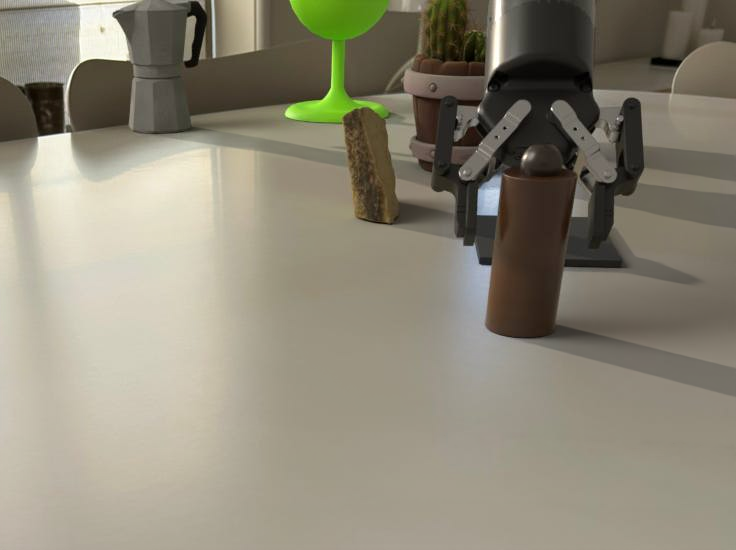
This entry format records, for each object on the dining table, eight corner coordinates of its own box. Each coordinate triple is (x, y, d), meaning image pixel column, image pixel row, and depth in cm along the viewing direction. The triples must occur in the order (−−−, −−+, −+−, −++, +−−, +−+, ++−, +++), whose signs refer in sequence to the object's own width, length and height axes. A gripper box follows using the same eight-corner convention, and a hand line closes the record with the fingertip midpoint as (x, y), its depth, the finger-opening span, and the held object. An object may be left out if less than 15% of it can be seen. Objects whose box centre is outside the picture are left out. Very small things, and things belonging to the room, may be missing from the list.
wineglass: (358, 125, 154) (364, -20, 144) (265, 117, 161) (264, -22, 151) (406, 111, 165) (414, -25, 155) (316, 104, 172) (319, -26, 162)
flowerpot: (488, 152, 135) (507, -33, 124) (542, 175, 123) (570, -28, 112) (380, 158, 133) (390, -30, 121) (425, 182, 120) (441, -25, 109)
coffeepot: (139, 137, 147) (130, -15, 137) (104, 129, 153) (92, -17, 143) (228, 125, 155) (225, -19, 145) (191, 118, 161) (185, -21, 151)
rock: (355, 170, 115) (301, 171, 107) (405, 103, 109) (351, 100, 102) (415, 246, 113) (363, 252, 106) (468, 183, 107) (417, 184, 100)
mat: (594, 223, 104) (595, 217, 103) (621, 267, 90) (622, 260, 90) (469, 221, 105) (470, 214, 104) (478, 264, 92) (479, 257, 91)
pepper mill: (550, 317, 79) (577, 136, 72) (558, 339, 75) (587, 149, 68) (482, 315, 80) (503, 135, 73) (486, 336, 76) (508, 148, 69)
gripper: (443, -5, 73) (432, 208, 70) (656, -5, 72) (653, 212, 69) (435, 73, 80) (424, 268, 77) (628, 74, 79) (624, 273, 76)
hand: (532, 241), depth 73 cm, fingers open, 8 cm apart
